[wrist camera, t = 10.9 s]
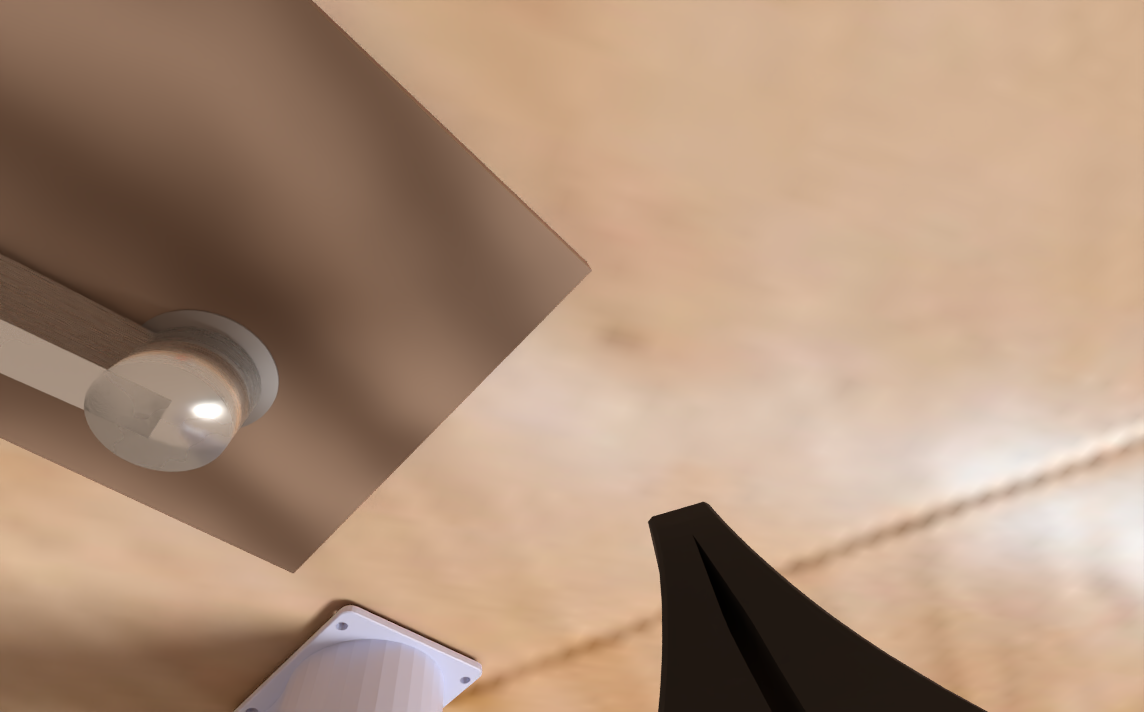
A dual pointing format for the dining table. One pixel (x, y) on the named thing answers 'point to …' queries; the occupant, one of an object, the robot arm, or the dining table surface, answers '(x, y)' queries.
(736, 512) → the dining table surface
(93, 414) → the cap handle
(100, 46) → the base board
